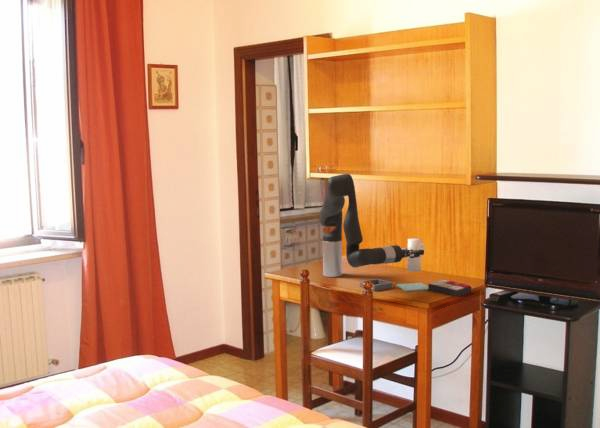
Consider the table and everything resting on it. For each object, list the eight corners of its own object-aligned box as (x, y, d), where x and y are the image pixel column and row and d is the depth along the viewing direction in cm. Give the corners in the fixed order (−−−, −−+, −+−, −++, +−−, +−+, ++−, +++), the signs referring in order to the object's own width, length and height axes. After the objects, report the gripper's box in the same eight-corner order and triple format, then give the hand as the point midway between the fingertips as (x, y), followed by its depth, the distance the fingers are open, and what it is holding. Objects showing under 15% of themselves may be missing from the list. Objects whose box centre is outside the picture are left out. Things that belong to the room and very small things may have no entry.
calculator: (457, 289, 289) (428, 282, 300) (457, 299, 290) (427, 291, 300) (472, 284, 297) (442, 278, 307) (471, 294, 297) (442, 287, 308)
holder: (374, 291, 301) (374, 285, 301) (359, 286, 310) (359, 281, 309) (392, 288, 307) (392, 282, 306) (377, 283, 315) (377, 278, 315)
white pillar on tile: (413, 272, 301) (413, 240, 300) (404, 270, 306) (404, 238, 305) (427, 270, 306) (428, 239, 304) (418, 268, 311) (418, 237, 309)
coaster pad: (396, 285, 311) (396, 284, 311) (421, 284, 314) (421, 282, 314) (406, 291, 300) (406, 290, 300) (431, 289, 302) (431, 288, 302)
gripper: (400, 248, 291) (429, 244, 300) (378, 243, 303) (407, 240, 312) (400, 265, 291) (429, 261, 300) (378, 260, 303) (407, 257, 312)
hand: (418, 251), depth 306 cm, fingers closed on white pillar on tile, 6 cm apart
